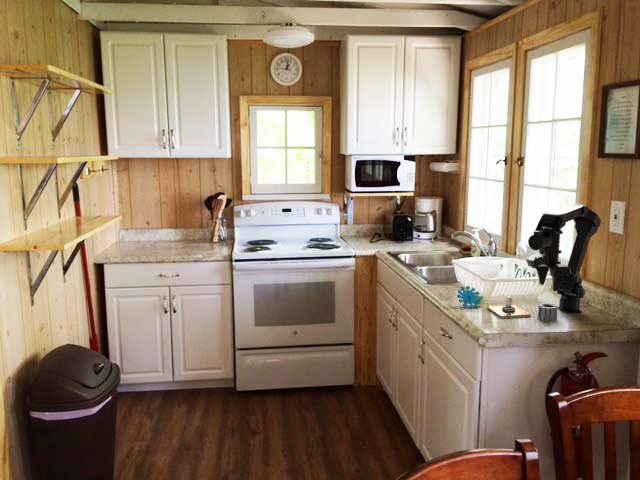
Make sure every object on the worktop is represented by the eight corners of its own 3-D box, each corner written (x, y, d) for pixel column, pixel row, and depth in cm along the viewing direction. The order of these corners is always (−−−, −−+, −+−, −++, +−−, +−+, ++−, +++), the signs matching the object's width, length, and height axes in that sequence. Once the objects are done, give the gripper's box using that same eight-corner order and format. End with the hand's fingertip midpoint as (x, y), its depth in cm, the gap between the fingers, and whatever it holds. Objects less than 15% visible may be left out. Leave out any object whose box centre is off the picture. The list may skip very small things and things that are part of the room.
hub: (550, 315, 211) (551, 302, 210) (560, 320, 205) (561, 307, 204) (534, 316, 210) (535, 303, 209) (543, 321, 204) (544, 308, 203)
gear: (459, 305, 219) (456, 283, 225) (454, 312, 224) (452, 290, 230) (486, 308, 220) (483, 286, 226) (480, 315, 225) (477, 293, 231)
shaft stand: (515, 307, 221) (516, 292, 220) (530, 316, 210) (531, 300, 208) (487, 308, 220) (487, 293, 219) (500, 318, 208) (501, 301, 207)
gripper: (518, 242, 211) (516, 282, 214) (543, 252, 193) (540, 295, 196) (545, 241, 212) (543, 281, 215) (573, 251, 194) (570, 294, 197)
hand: (548, 287), depth 206 cm, fingers open, 9 cm apart
